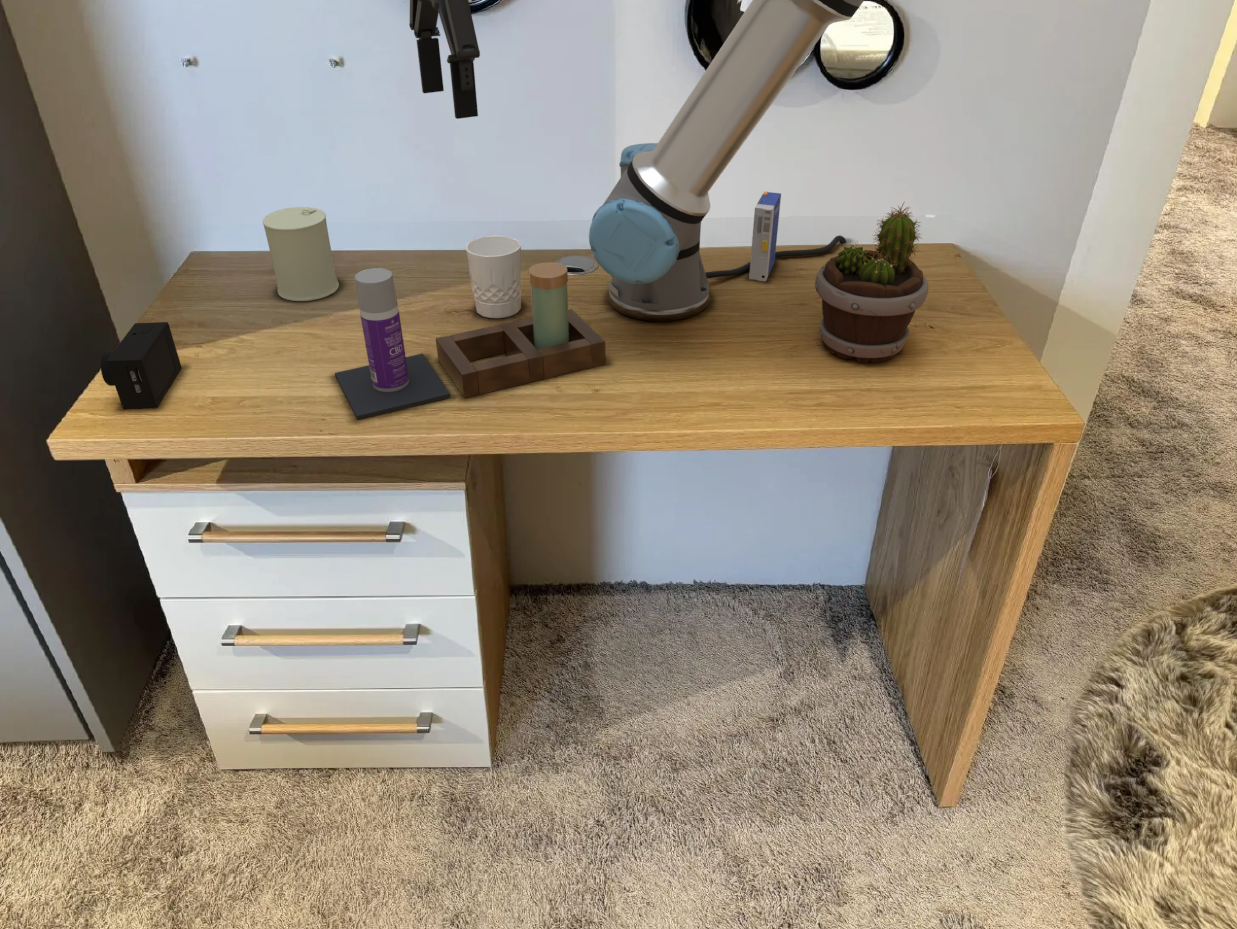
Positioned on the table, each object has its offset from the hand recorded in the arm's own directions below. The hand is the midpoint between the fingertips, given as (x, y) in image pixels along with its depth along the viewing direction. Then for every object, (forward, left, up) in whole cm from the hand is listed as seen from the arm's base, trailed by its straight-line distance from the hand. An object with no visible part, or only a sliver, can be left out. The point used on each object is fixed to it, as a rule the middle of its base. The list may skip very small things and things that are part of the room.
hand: (449, 103), depth 122 cm
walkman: (-48, +4, -31) cm, 57 cm away
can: (+19, -22, -31) cm, 42 cm away
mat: (+16, +14, -31) cm, 37 cm away
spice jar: (-6, +15, -31) cm, 35 cm away
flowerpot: (-46, +32, -31) cm, 64 cm away
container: (+16, +14, -30) cm, 37 cm away
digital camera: (+44, 0, -31) cm, 54 cm away
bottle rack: (-2, +15, -31) cm, 34 cm away
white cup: (-5, -2, -31) cm, 31 cm away
